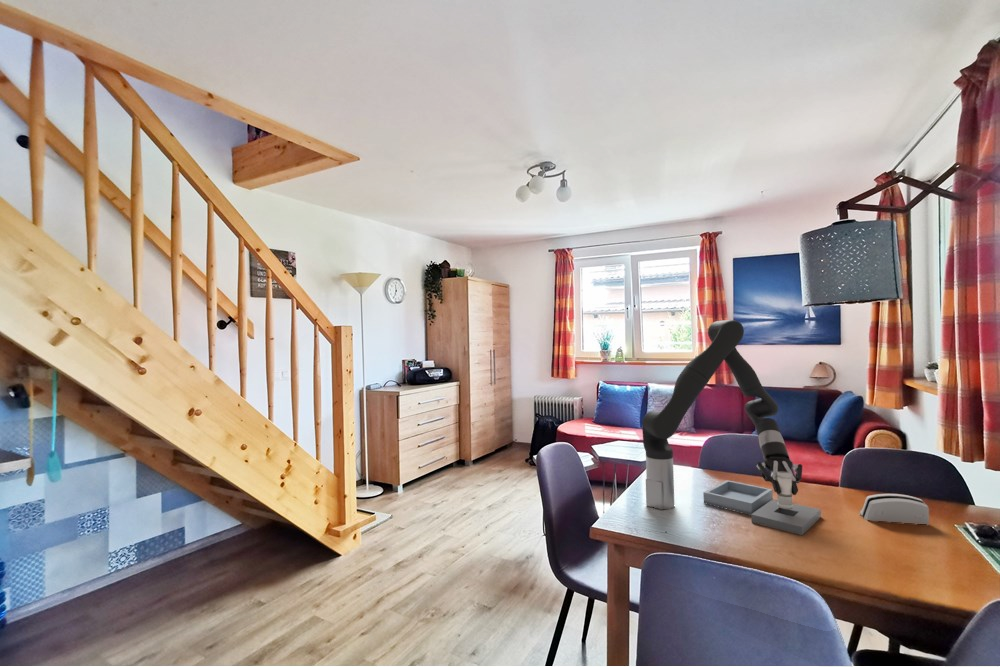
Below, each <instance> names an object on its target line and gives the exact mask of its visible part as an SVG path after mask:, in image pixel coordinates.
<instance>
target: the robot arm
mask: <svg viewBox="0 0 1000 667" xmlns="http://www.w3.org/2000/svg"><path fill="white" fill-rule="evenodd" d="M744 329H745V328H744V326H743V324H742V323H741V322H740V321H738V320H734V319H727V320H726V319H724V320H716V321H713V322H712V323H711V324H710V325H709V327H708V329H707V330H708V331H707V334H708V338H709V340H710V341H711V342H710V344H709V346H708V347H707V348H705V350H703V351H702V352H701V353H699V354H698V355H697V356H695V357H694V358H693V359H691V360H690V361H689V362H688V363H687V364H686V365H685V367H684V368H683V369H682V371H681V372H680V373H679V375H678V377H677V378H676V380H675V384H674V388H673V393H672V395H671V397H670V400H669V401H668V402H667V403H666V405H665V406H664V408H663V409H662V410H661V411H660V410H653V409H652V410H650V411H647V412H646V414H645V415H644V417H643V418H642V422H641V424H642V425H641V427H642V428H641V429H642V443H643V448H644V451H645V471H646V472H645V473H646V474H645V475H646V476H645V477H646V478H645V502H646V503H645V504H646V505H647V507H649V508H653V507H654V509H657V508H658V509H657V510H660V509H663V510H668V509H669V508H670V509H673V508H675V506H674V505H675V480H674V479H675V478H674V451H673V448H672V447H671V445H670V443H669V441H668V439H670V438H671V437H673V435H674V434H675V433H676V432H677V429H678V428H679V427H680V424H681V423H682V421H683V419H684V417H685V416H686V414H687V413H688V411H689V409H690V408H691V406H692V405H693V403H694V402H695V401H696V400H697V398H698V397H699V395H700V394H701V392H702V391H703V390H704V388H706V386H707V385H708V383H709V382H710V380H711V379H712V377H713V376H714V374H716V371H718V369H719V367H720V366H721V364H722V363H723V362H725V363H726V364H727V366H728V367H729V370H730V371H731V373H732V374H733V376H734V378H735V381H736V383H737V385H738V387H739V389H740V391H741V393H742V394H743V396H745V397H749V398H750V397H754V398H755V397H757V398H756V399H752V400H750V401H747V402H746V403H745V406H744V411H745V413H746V414H747V416H748V418H750V420H751V421H752V424H753V425H754V427H755V429H756V434H757V436H758V443H759V447H760V450H761V453H762V457H763V462H761V461H759V462H757V464H756V466H755V467H756V470H757V471H758V473H759V474H760V475H761V477H762V478H763V480H764V481H765V482H767V483H768V482H769V483H771V485H772V489H773V491H774V492H775V493H776V494H777V495H778V494H780V493H781V489H780V486H779V482H778V481H777V471H786V472H790V473H792V496H796V495H797V494H798V492H799V488H798V486H797V484H800V482H801V480H802V476H803V475H802V474H803V465H802V464H801V463H799V464H795V463H793V461H791V459H790V455H789V452H788V449H787V446H786V444H785V440H784V438H783V436H782V433H781V430H780V428H779V425H778V422H777V421H776V420H775V419H774V418H771V417H773V416H775V415H777V414H778V413H779V406H778V404H777V402H776V401H775V399H774V398H773V397H772V396H771V395H770V394H769V393H768V392H767V391H766V389H765V388H764V386H763V385H762V384H761V382H760V379H759V377H758V375H757V373H756V372H755V370H754V368H753V367H752V366H751V365H750V363H749V362H748V361H747V360H746V359H745V358H744V357H743V356H742V355H741V353H740V352H739V351H738V350H737V346H738V345H739V343H740V342H741V341H742V339H743V337H744V335H745V334H744V332H745V330H744ZM792 468H793V471H794V472H795V476H794V474H793V471H792V470H791V469H792ZM767 469H768V470H769V471H770V474H769V473H768V471H767Z"/></svg>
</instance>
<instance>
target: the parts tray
mask: <svg viewBox="0 0 1000 667" xmlns="http://www.w3.org/2000/svg"><path fill="white" fill-rule="evenodd" d="M773 491H774V489H773V488H766V487H763V486H757V485H753V484H748V483H742V482H738V481H733V480H728V479H726V480H724V481H722V482H720V483H719V484H717V485H715V486H713V487H710V488H709V489H707V490H705V491H703V493H702V494H703V504H704V503H707V504H706V505H708V504H711V505H710V506H712V505H715V506H714V507H716V506H719V507H718V508H720V507H723V508H722V509H724V508H727V509H726V510H728V509H731V510H730V511H732V510H735V511H734V512H736V511H738V512H737V513H740V512H742V513H741V514H744V513H745V515H748V516H751V514H752V513H754V512H755V511H757V510H758V509H759V508H761V507H762V506H764V505H765V504H767V503H768V502H769V501H771V500H772V499H774V497H773V496H774V495H773V493H774V492H773Z"/></svg>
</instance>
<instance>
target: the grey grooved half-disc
mask: <svg viewBox="0 0 1000 667" xmlns="http://www.w3.org/2000/svg"><path fill="white" fill-rule="evenodd" d="M859 516H862V517H863V519H864V520H865V521H866V520H874V521H873V522H878V521H888V522H887V523H891V522H903V523H902V524H904V523H917V524H918V523H919V524H929V525H930V508H929V506H928V505H927V504H926V503H925V501H923V499H921V498H918V497H915V496H911V495H907V494H901V493H900V494H899V493H878V494H872V495H871V494H870V495H868V496H866V497H865V500H864V503H863V506H862V509H860V512H859ZM917 524H916V525H917Z"/></svg>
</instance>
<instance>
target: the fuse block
mask: <svg viewBox="0 0 1000 667" xmlns="http://www.w3.org/2000/svg"><path fill="white" fill-rule="evenodd" d="M777 502H778V499H774V498H773V499H772V500H771V501H769V502H768V503H767V504H765V505H764V506H762V507H761V508H759V509H758V510H757V511H755V512H754V513H752V514H751V515H750V517H751V518H750V519H751V522H750V523H753V524H756V525H760V526H765V527H768V528H772V529H776V530H781V531H783V532H787V533H792V534H795V535H799V536H803V535H804V534H805V533H806V532H808V531H809V530H810V528H811V527H813V525H814V524H816V523H817V522H818V520H820V519H821V518H822V512H821V511H822V510H821V508H817V507H811V506H807V505H803V504H797V503H793V502H792V504H793V509H782V508H779V507H778V506H777Z"/></svg>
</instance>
